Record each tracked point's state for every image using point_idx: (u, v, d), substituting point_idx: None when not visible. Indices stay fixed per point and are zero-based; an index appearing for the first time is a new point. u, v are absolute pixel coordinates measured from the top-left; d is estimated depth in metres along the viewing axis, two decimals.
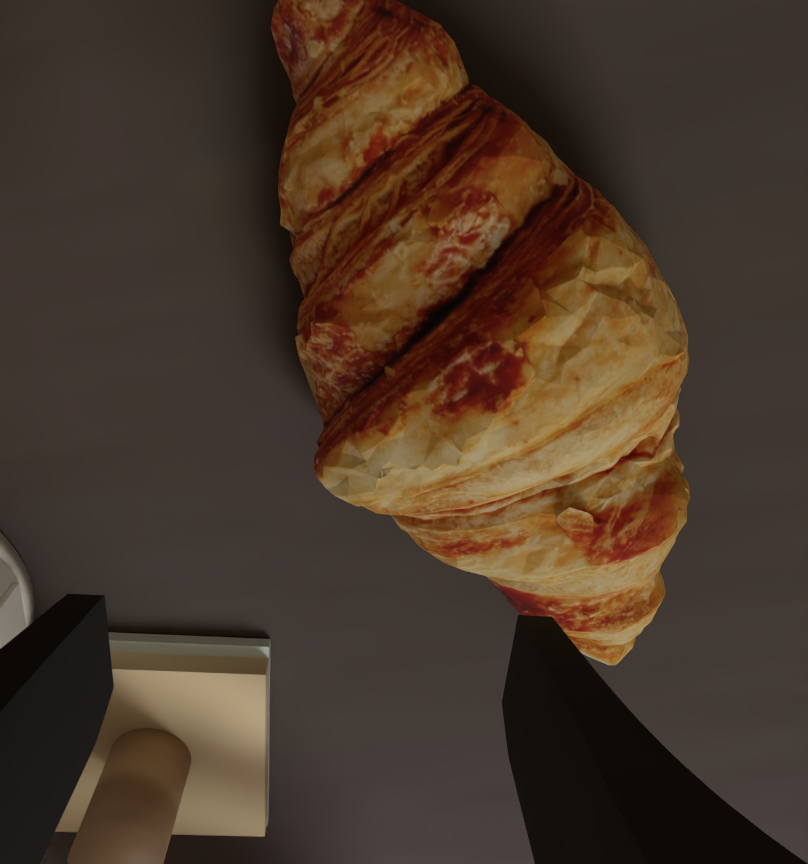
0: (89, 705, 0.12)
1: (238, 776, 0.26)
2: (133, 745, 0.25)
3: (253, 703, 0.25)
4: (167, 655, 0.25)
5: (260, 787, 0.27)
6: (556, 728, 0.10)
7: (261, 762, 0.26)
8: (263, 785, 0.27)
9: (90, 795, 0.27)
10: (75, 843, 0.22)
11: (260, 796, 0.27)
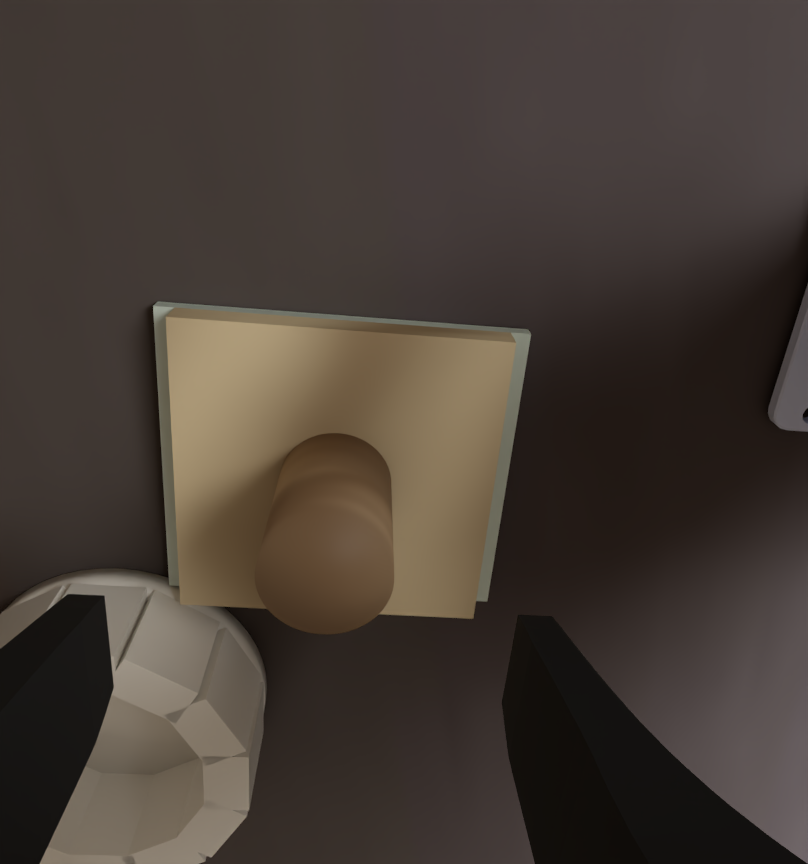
0: (89, 705, 0.12)
1: (376, 371, 0.17)
2: None
3: (223, 338, 0.17)
4: None
5: (405, 340, 0.17)
6: (556, 728, 0.10)
7: (347, 335, 0.17)
8: (397, 336, 0.17)
9: (406, 563, 0.19)
10: (281, 618, 0.15)
11: (421, 342, 0.17)
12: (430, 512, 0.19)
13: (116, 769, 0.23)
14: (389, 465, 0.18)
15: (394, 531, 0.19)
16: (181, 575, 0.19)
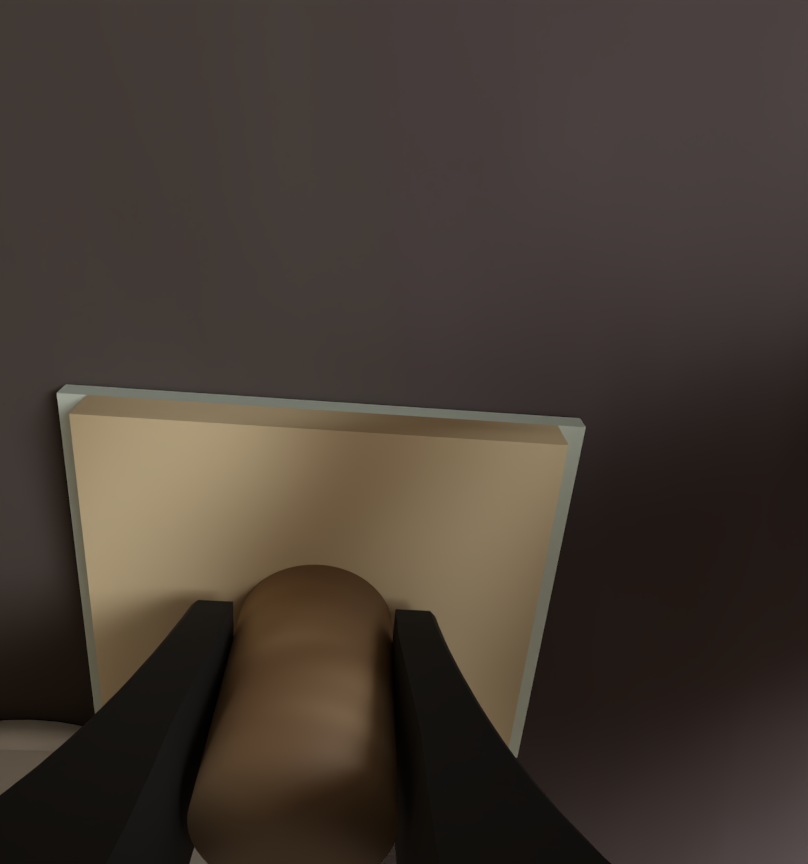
0: None
1: (371, 485, 0.12)
2: None
3: (154, 442, 0.12)
4: None
5: (411, 443, 0.12)
6: (408, 723, 0.10)
7: (329, 437, 0.12)
8: (401, 437, 0.12)
9: None
10: None
11: (435, 446, 0.12)
12: None
13: None
14: (389, 604, 0.13)
15: None
16: None
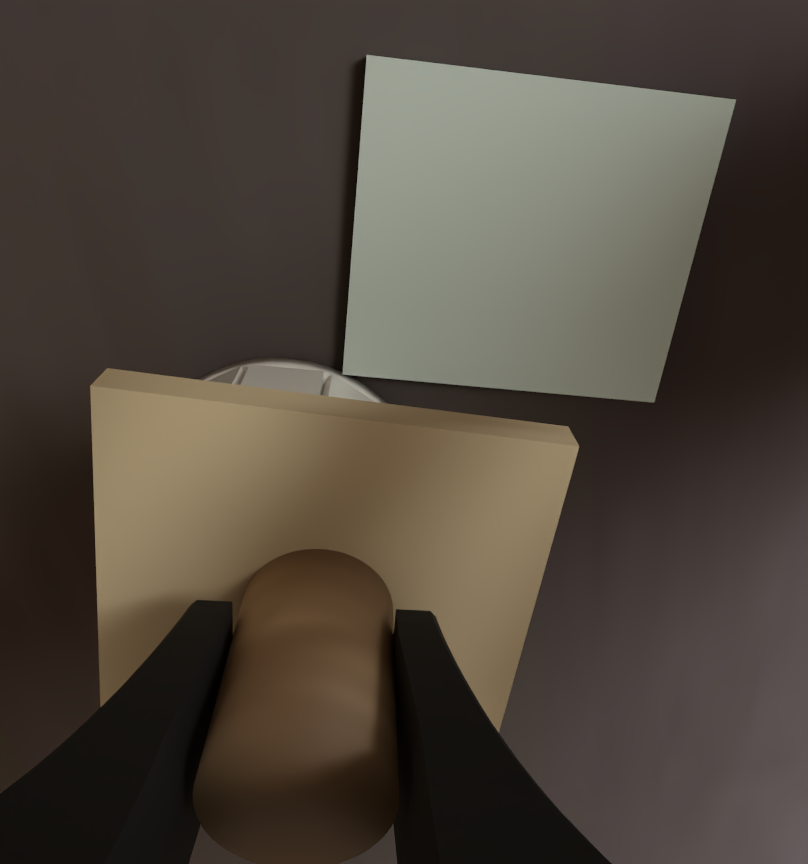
0: None
1: (383, 474, 0.12)
2: None
3: (173, 419, 0.12)
4: None
5: (426, 435, 0.12)
6: (409, 723, 0.10)
7: (347, 424, 0.12)
8: (417, 429, 0.12)
9: None
10: (230, 846, 0.10)
11: (449, 439, 0.12)
12: None
13: None
14: (392, 592, 0.13)
15: None
16: None
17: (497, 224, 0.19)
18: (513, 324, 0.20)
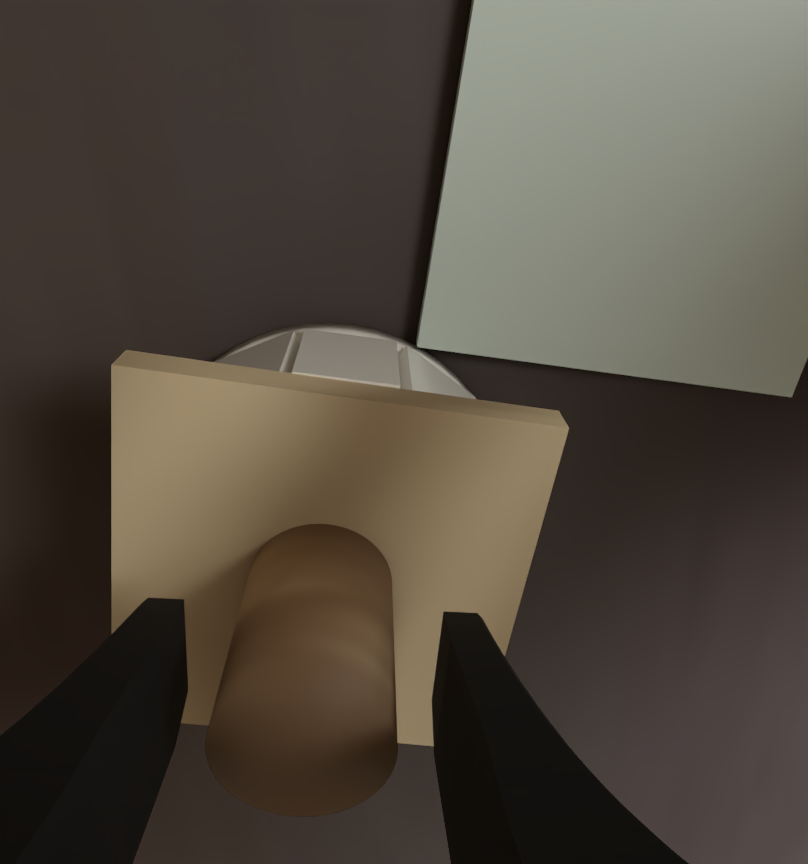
0: (171, 708, 0.12)
1: (385, 452, 0.13)
2: None
3: (187, 398, 0.13)
4: None
5: (426, 416, 0.13)
6: (466, 725, 0.10)
7: (351, 405, 0.13)
8: (417, 410, 0.13)
9: (402, 683, 0.15)
10: (239, 794, 0.11)
11: (447, 419, 0.13)
12: (437, 625, 0.15)
13: None
14: (391, 567, 0.14)
15: None
16: None
17: (628, 163, 0.15)
18: (633, 293, 0.16)
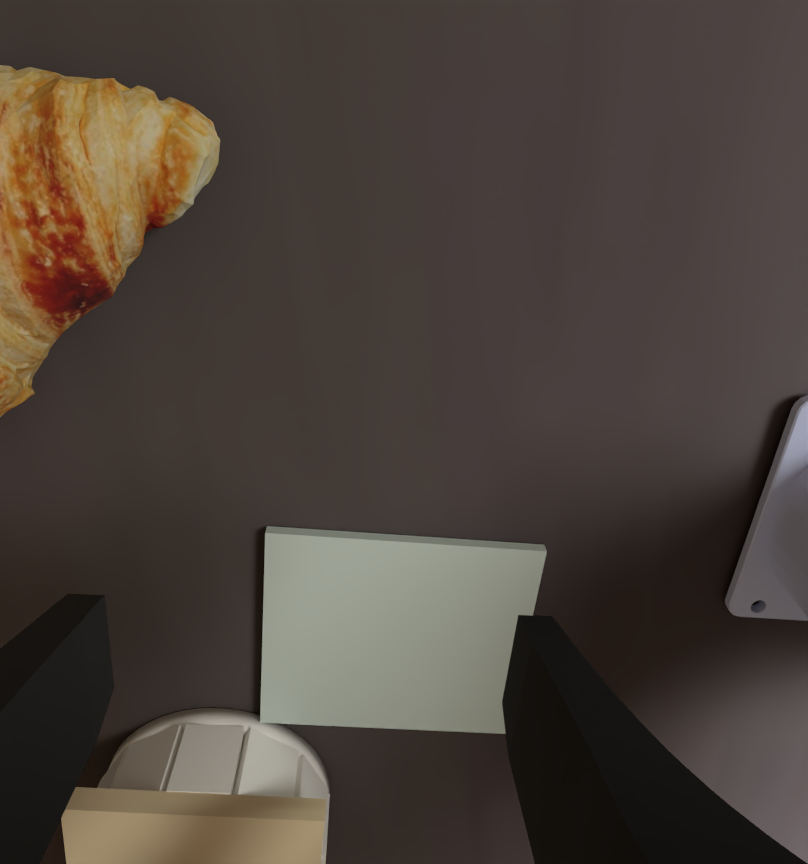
0: (89, 705, 0.12)
1: (220, 837, 0.23)
2: None
3: (104, 821, 0.22)
4: None
5: (241, 819, 0.23)
6: (556, 728, 0.10)
7: (197, 818, 0.22)
8: (235, 818, 0.23)
9: None
10: None
11: (253, 821, 0.23)
12: None
13: None
14: None
15: None
16: None
17: (373, 628, 0.25)
18: (391, 688, 0.26)
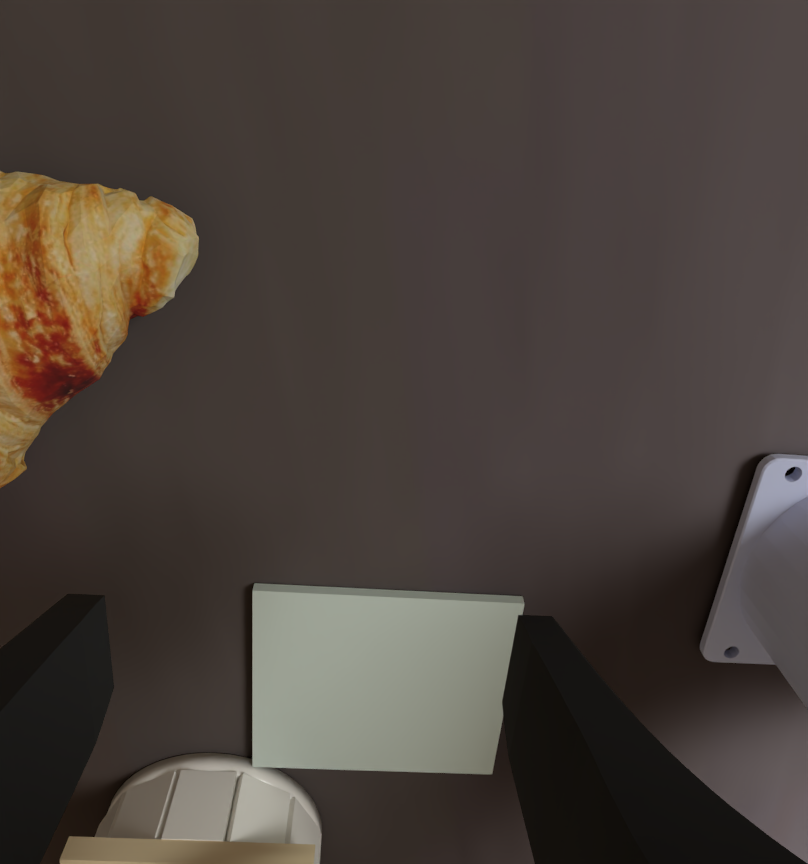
0: (89, 705, 0.12)
1: None
2: None
3: None
4: None
5: None
6: (556, 728, 0.10)
7: None
8: None
9: None
10: None
11: None
12: None
13: None
14: None
15: None
16: None
17: (359, 677, 0.25)
18: (378, 733, 0.27)
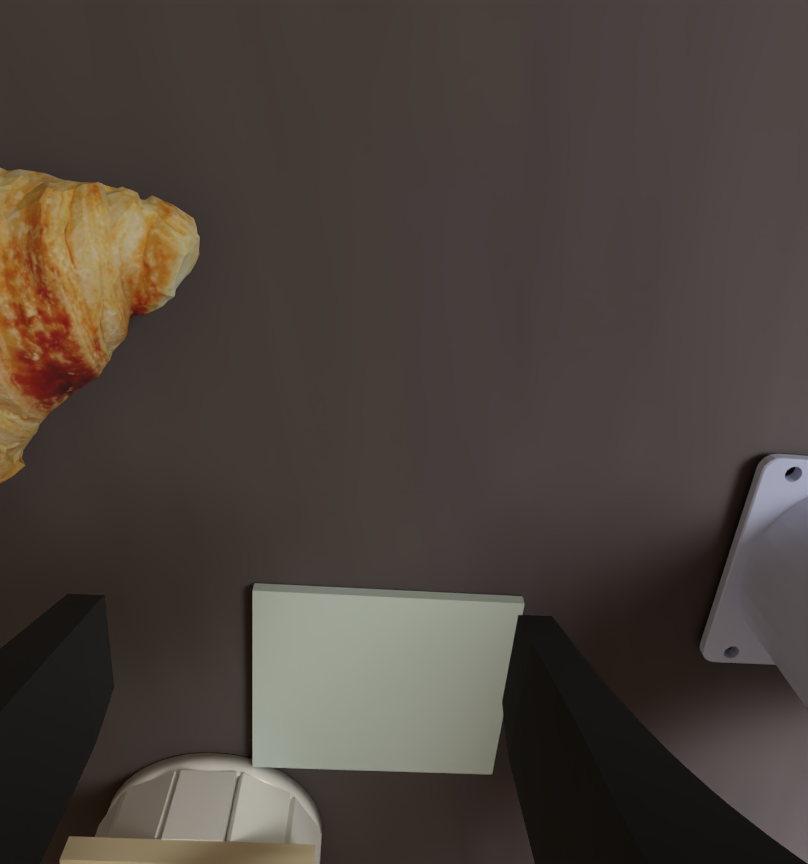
0: (89, 705, 0.12)
1: None
2: None
3: None
4: None
5: None
6: (556, 728, 0.10)
7: None
8: None
9: None
10: None
11: None
12: None
13: None
14: None
15: None
16: None
17: (359, 677, 0.25)
18: (378, 733, 0.27)
